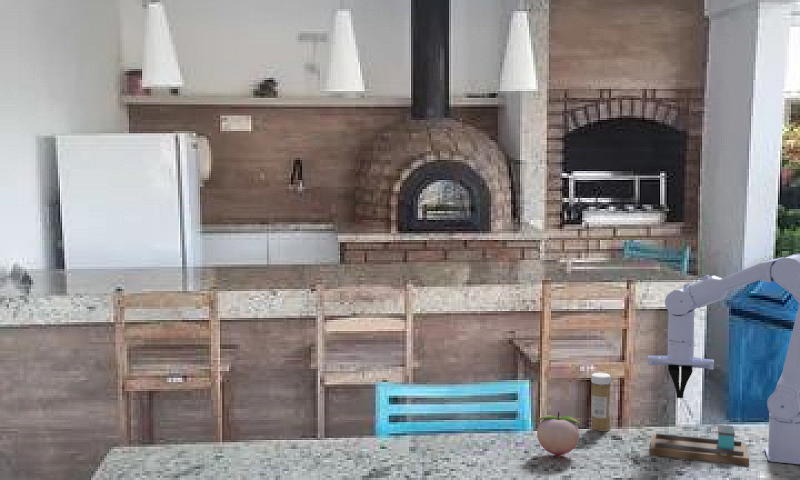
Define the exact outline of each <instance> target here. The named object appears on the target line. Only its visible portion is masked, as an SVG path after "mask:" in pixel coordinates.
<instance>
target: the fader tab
mask: <svg viewBox="0 0 800 480" xmlns="http://www.w3.org/2000/svg"><path fill="white" fill-rule="evenodd" d="M735 436H736V433H735V428H734V426H733V425H724V424H717V439H718V448H722V449H732V450H734V440H735Z"/></svg>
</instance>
